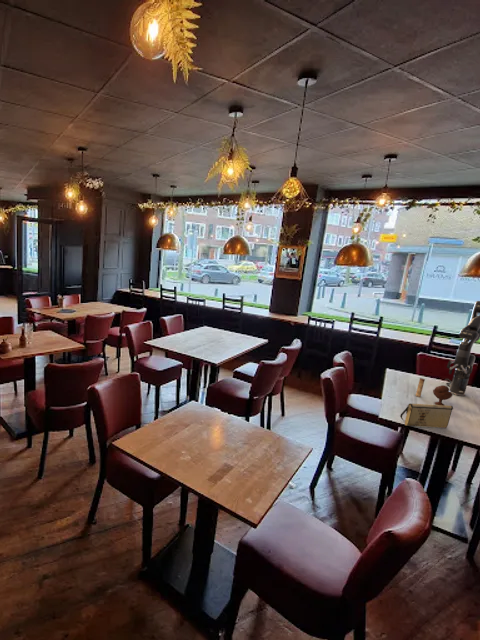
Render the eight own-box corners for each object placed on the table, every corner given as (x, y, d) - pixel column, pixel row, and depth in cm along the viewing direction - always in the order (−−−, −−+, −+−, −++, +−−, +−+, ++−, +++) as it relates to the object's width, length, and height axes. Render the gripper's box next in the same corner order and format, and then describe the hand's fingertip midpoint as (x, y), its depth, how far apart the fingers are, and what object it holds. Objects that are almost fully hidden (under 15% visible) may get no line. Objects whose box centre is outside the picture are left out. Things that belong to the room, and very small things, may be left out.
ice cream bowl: (453, 408, 241) (458, 388, 238) (437, 407, 241) (442, 387, 238) (441, 401, 251) (446, 382, 248) (426, 400, 252) (431, 381, 248)
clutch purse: (440, 423, 217) (446, 401, 214) (449, 429, 210) (456, 406, 207) (395, 421, 215) (400, 399, 212) (403, 426, 209) (409, 404, 205)
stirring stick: (416, 394, 261) (420, 377, 258) (421, 396, 259) (425, 379, 256) (414, 395, 259) (419, 378, 256) (419, 397, 257) (424, 380, 254)
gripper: (476, 358, 252) (470, 378, 255) (452, 352, 263) (447, 372, 266) (473, 359, 247) (467, 380, 251) (449, 353, 258) (444, 373, 262)
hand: (457, 376), depth 259 cm, fingers open, 8 cm apart
